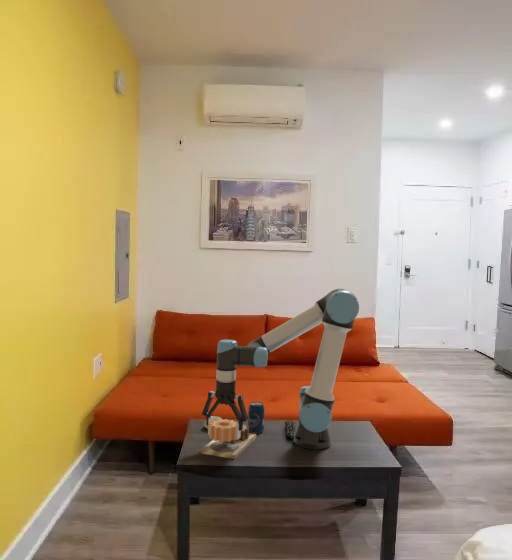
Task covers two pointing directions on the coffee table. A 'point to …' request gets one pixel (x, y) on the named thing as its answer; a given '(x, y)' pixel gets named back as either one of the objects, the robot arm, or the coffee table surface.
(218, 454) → the gear board
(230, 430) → the loose gear
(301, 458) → the coffee table surface
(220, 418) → the sea urchin shell
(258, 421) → the soda can
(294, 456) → the coffee table surface
